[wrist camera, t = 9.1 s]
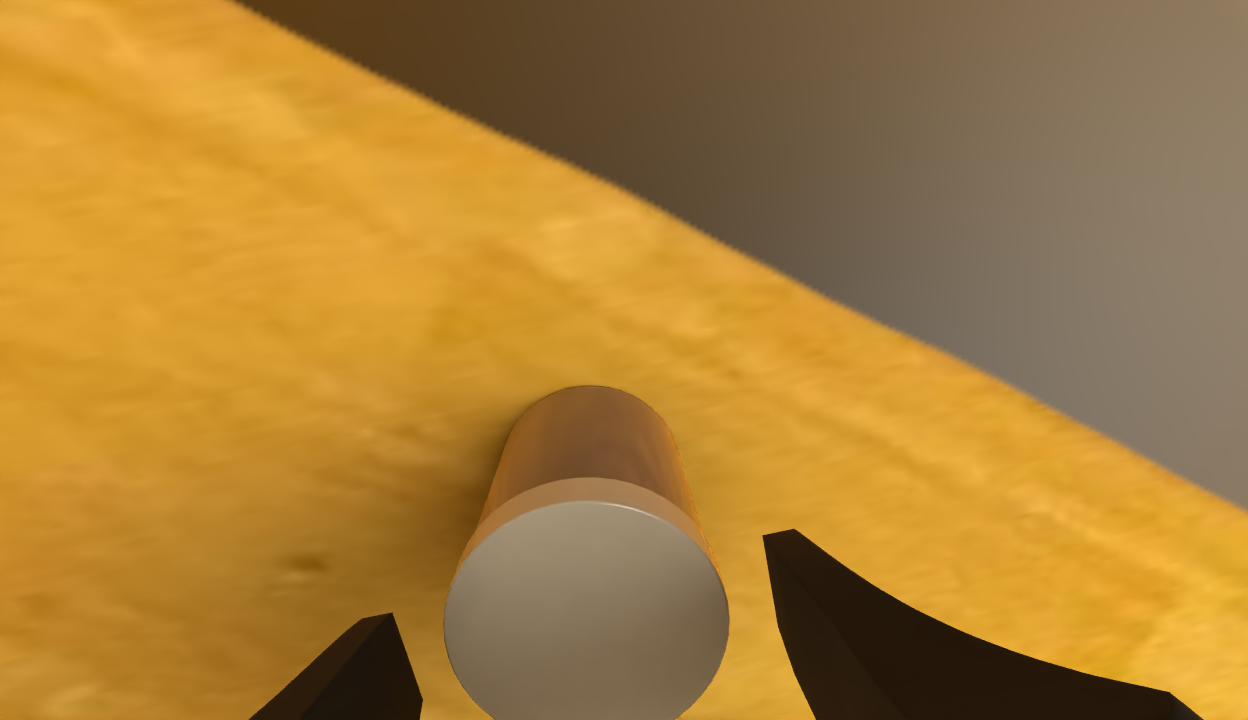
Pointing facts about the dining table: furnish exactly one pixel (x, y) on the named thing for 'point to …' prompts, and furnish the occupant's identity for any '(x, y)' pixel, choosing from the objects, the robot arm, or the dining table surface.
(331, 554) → the dining table surface
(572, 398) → the spice jar
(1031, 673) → the robot arm
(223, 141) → the dining table surface
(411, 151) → the dining table surface
